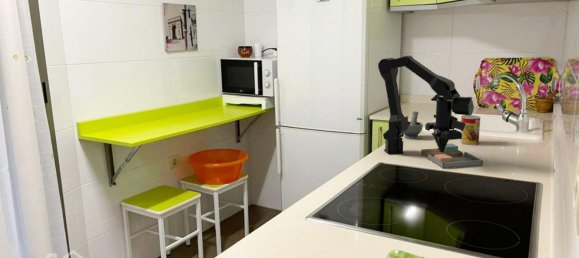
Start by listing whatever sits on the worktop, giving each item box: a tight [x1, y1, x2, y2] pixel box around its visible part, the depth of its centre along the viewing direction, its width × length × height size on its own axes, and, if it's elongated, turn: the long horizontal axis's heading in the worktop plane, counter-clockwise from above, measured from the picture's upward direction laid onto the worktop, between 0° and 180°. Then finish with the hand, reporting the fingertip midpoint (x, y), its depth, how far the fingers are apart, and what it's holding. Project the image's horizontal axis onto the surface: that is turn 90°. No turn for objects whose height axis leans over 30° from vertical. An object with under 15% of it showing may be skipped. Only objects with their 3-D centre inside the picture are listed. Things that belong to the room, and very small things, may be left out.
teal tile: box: [444, 143, 459, 152], centre depth 184 cm, size 5×5×2 cm
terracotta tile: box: [434, 154, 453, 163], centre depth 174 cm, size 5×5×2 cm
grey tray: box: [427, 151, 483, 169], centre depth 173 cm, size 16×12×2 cm
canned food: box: [459, 114, 481, 146], centre depth 200 cm, size 8×8×12 cm
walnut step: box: [420, 147, 464, 159], centre depth 183 cm, size 14×8×2 cm, turn 99°
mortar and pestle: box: [404, 110, 423, 140], centre depth 212 cm, size 11×9×12 cm
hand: (441, 152), depth 176 cm, fingers closed
